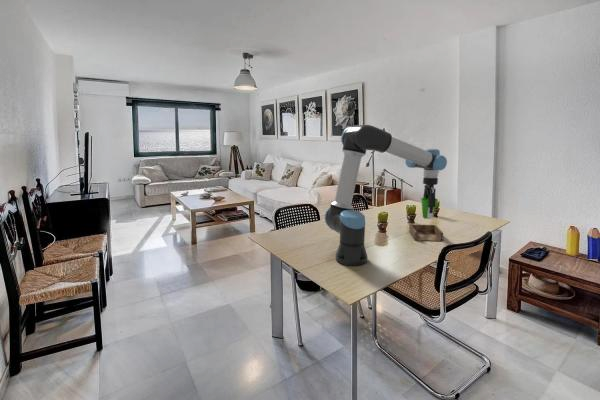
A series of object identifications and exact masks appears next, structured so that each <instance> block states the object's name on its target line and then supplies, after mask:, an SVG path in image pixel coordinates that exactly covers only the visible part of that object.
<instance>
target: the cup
mask: <svg viewBox="0 0 600 400" xmlns="http://www.w3.org/2000/svg"><path fill="white" fill-rule="evenodd" d="M420 200H421V209H422V212H421V213H422V218H423V219H425V220H429V219H428V218H427V217H428V206H429V199H428V198H423V197H420ZM438 200H439V199H438V198H436V197H435V207H434V210H433V216H434V213H435V210H436V206H437V202H438Z"/></svg>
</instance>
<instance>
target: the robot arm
mask: <svg viewBox="0 0 600 400" xmlns="http://www.w3.org/2000/svg"><path fill="white" fill-rule="evenodd" d="M340 137H341V138H340V141H341V145H342V152H343V154H344V155H343V156H344V157H343V161H342V165H341V169H340V174H339V179H338V184H337V188H336V194H335V198H334V200H333V201H332V202H331V203H330V205H329V206H330V207H329V208H328V209H327V210H326V211H325V213H324V222H325V224H326V225H327V226H328V228H330V230H332V231H334V232H336V233H337V234H339V245H338V247H337V251H336V254H335V261H336V262H337V263H339V264H341V265H344V266H350V267H351V266H352V267H353V266H354V267H356V266H357V267H359V266H363V265H365V264H367V263H368V258H369V257H368V254H367V253H368V252H367V249H366V247H365V237H366V236H365V232H366V216H365V215H364V213H363V212H361V211H358V210H354V206H353V205H352V203H353V202H352V201H353V197H354V194H355V189H356V183H357V181H358V180H357V179H358V176H359V171H360V167H361V162H362V158H363V157H365V156H366V154H367V151H374V152H378V153H381V154H384V153H387V154H390V155H393V156H395V157H398V158H401V159H404V160H405V165H406V167H407V168H412V169H414V168H415V169H416V168H417V169H418V168H419V169H423V178H422V184H423V185H424V188H423V189H424V190H423V197H422V198H428V199H429V206H428V217H427V218H428V219H427V220H432V219H434V215H433V210H434V207H435V198H436V190H437V189H436V188H435V186H437V184H438V183H439V181H438V177H439V173H440V171H443V170H445V168H446V167H447V164H448V159H447V157H445V156H444V155H441V153H440V152H441V151H440V149H437V148H427V149H423V148H420V147H418V146H416V145H413V144H411V143H408V142H406V141H403V140H401V139H398V138H396V137H393V136H392V134H391V133H390V132H388V131H386V130H383V129H381V128H379V127H377V126H375V125H374V126H373V125H371V124H353V125H350V126H348V127H345V129H344V130H343V132H342V133H341V136H340ZM435 208H436V207H435Z"/></svg>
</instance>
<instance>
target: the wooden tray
mask: <svg viewBox="0 0 600 400" xmlns="http://www.w3.org/2000/svg"><path fill="white" fill-rule="evenodd" d="M408 225H409V226H408V227H409V228H408V233H409V234H410V237H412V239H413V240H414V241H417V242H442V241H443V242H444V240H443V239H444V232H443V231H442V230H441V229H440V228H439V227H438V226H437V225H436V224H417V223H416V224H415V223H414V224H413V223H411V224H408Z"/></svg>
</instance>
